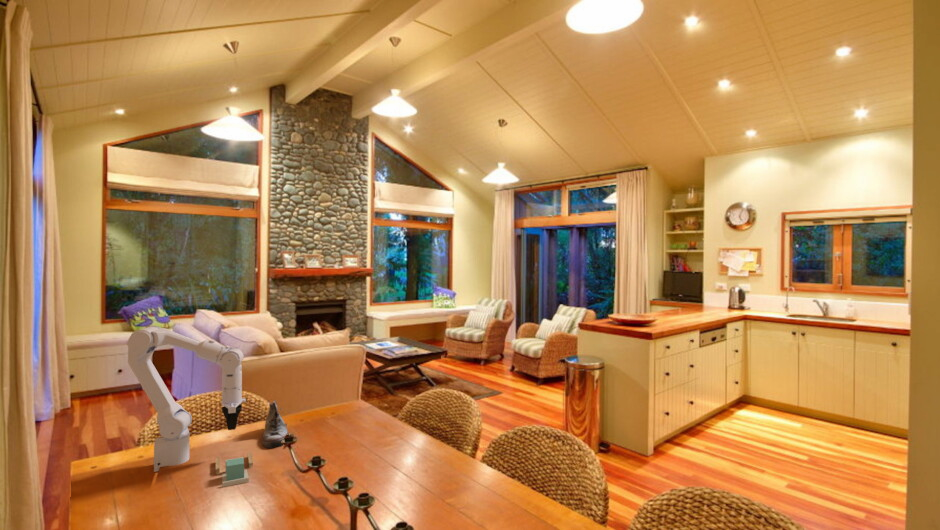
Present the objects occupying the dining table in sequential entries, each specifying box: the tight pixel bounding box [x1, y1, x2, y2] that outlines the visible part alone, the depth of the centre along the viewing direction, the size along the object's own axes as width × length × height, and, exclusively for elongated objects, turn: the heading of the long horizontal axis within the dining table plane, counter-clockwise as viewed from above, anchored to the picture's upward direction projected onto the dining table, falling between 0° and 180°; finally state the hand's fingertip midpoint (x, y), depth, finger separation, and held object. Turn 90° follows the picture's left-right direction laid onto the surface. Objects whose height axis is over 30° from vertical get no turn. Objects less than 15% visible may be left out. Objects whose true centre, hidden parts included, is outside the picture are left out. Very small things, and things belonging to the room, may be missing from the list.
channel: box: [215, 451, 254, 475], centre depth 147 cm, size 10×9×2 cm
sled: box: [221, 456, 250, 488], centre depth 139 cm, size 7×11×4 cm, turn 28°
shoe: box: [261, 399, 290, 449], centre depth 171 cm, size 25×11×12 cm, turn 11°
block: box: [225, 457, 245, 481], centre depth 138 cm, size 4×4×4 cm
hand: (231, 429), depth 153 cm, fingers closed
